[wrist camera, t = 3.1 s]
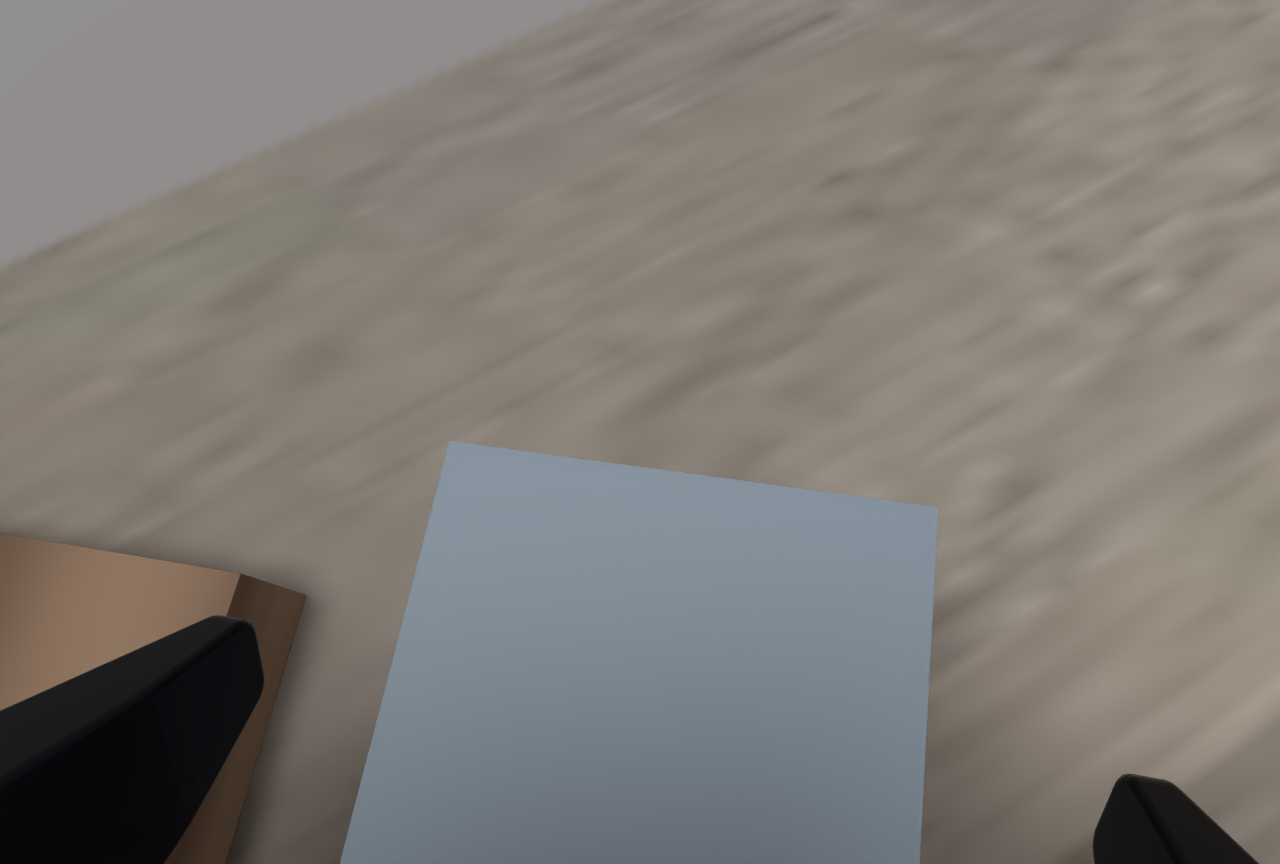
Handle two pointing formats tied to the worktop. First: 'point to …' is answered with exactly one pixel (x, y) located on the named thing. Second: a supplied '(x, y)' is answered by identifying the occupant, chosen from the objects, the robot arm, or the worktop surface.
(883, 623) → the slate block
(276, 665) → the walnut block
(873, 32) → the worktop surface
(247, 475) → the worktop surface
